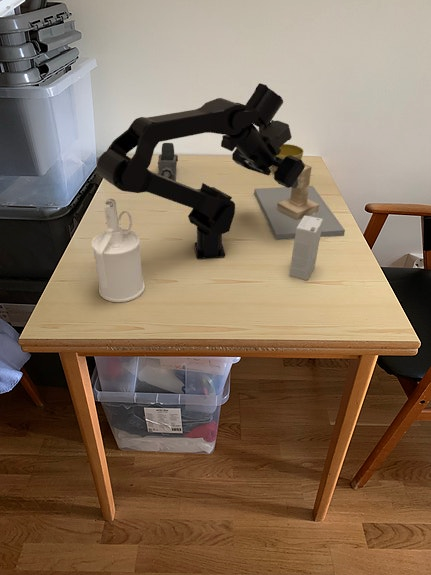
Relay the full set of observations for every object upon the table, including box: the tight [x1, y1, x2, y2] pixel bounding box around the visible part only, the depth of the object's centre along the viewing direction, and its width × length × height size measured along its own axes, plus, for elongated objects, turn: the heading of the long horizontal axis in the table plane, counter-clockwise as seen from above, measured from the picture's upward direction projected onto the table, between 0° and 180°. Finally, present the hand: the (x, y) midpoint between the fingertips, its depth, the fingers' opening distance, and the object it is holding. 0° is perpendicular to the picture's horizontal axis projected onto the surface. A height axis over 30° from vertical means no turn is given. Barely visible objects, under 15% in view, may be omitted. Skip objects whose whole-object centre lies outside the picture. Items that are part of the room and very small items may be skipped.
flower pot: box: [273, 143, 305, 172], centre depth 145 cm, size 10×10×7 cm
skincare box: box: [289, 216, 323, 281], centre depth 99 cm, size 6×4×12 cm
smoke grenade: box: [90, 198, 146, 303], centre depth 91 cm, size 10×9×20 cm
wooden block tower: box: [277, 163, 319, 220], centre depth 119 cm, size 8×7×12 cm
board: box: [253, 185, 346, 241], centre depth 125 cm, size 26×17×2 cm, turn 8°
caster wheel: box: [157, 142, 179, 181], centre depth 141 cm, size 6×10×15 cm
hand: (282, 179), depth 114 cm, fingers open, 9 cm apart
